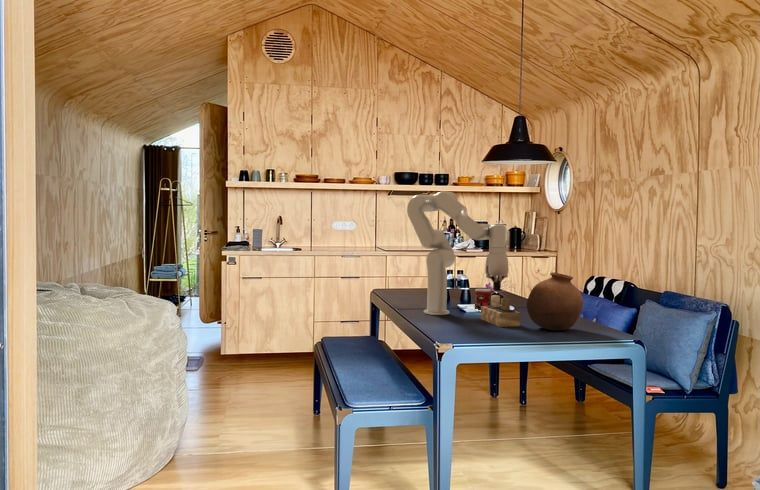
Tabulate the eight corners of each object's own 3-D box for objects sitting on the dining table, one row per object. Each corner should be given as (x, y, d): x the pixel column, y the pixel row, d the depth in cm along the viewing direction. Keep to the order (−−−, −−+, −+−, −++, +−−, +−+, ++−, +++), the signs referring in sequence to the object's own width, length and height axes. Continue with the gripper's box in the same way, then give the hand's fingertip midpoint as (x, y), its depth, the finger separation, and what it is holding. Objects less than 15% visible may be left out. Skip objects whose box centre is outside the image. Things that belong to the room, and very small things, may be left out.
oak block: (480, 319, 289) (481, 305, 289) (499, 318, 292) (500, 304, 292) (499, 326, 271) (500, 312, 271) (519, 326, 274) (520, 311, 274)
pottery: (517, 326, 274) (519, 270, 272) (560, 323, 282) (562, 269, 280) (548, 336, 252) (550, 276, 251) (593, 333, 261) (596, 275, 259)
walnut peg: (498, 312, 278) (499, 298, 278) (506, 312, 279) (507, 298, 279) (503, 314, 274) (503, 299, 274) (511, 314, 275) (511, 299, 275)
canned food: (472, 309, 315) (472, 288, 314) (486, 309, 317) (486, 288, 316) (478, 312, 307) (479, 290, 307) (493, 312, 310) (493, 290, 309)
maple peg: (489, 309, 287) (489, 295, 287) (497, 309, 288) (497, 295, 288) (493, 310, 283) (493, 296, 283) (501, 310, 285) (501, 296, 284)
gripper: (507, 250, 290) (507, 288, 291) (479, 250, 286) (478, 289, 287) (515, 251, 283) (515, 290, 284) (486, 251, 278) (485, 292, 279)
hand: (496, 290), depth 285 cm, fingers closed
